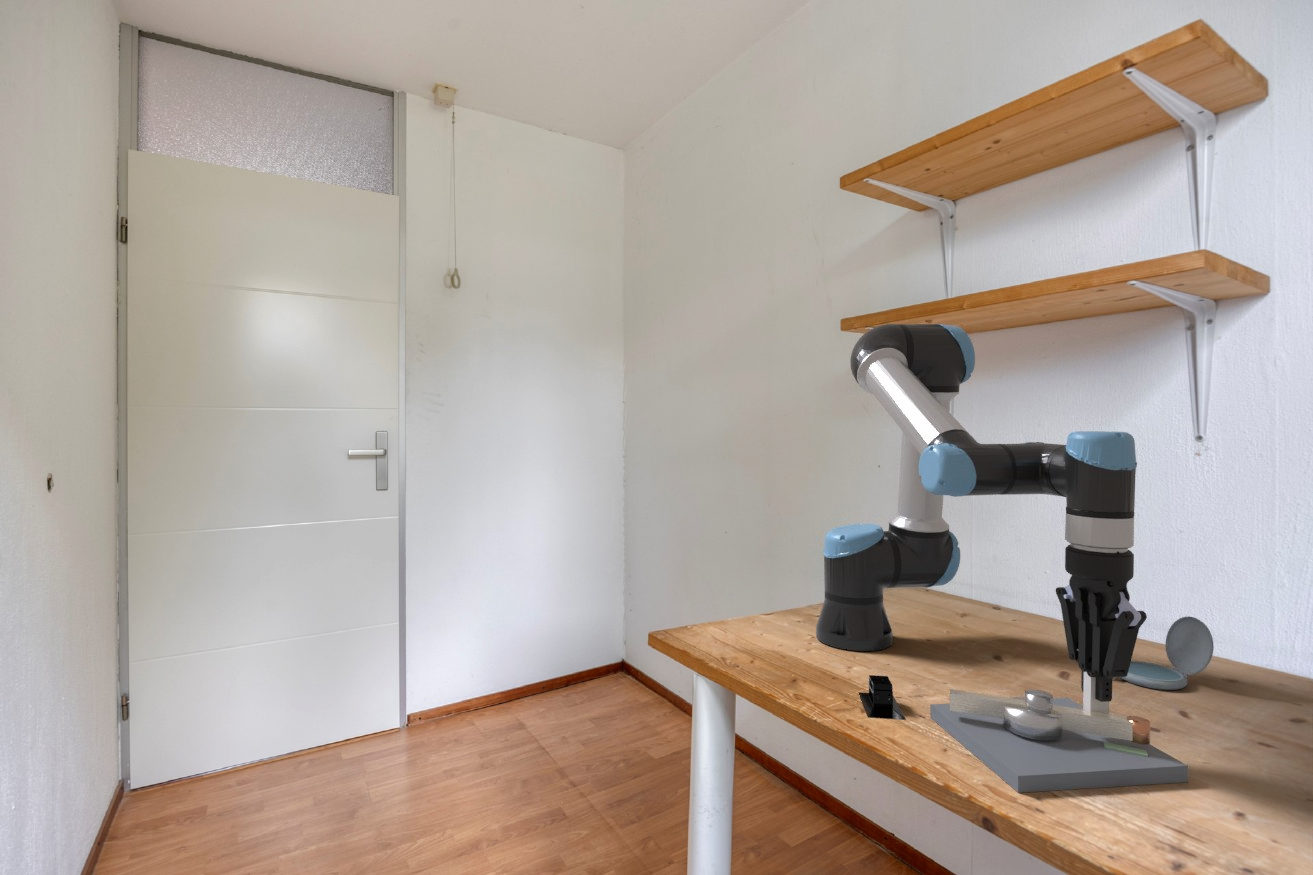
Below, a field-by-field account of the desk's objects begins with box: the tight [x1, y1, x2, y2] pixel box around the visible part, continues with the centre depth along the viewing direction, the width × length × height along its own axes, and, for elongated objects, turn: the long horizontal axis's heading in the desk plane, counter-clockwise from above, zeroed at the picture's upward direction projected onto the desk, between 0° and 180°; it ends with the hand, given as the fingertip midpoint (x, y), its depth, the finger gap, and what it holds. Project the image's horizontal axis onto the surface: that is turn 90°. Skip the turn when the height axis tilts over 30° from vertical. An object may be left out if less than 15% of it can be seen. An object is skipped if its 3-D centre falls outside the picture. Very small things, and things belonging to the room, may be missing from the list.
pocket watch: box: [1114, 616, 1215, 691], centre depth 109 cm, size 10×11×15 cm
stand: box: [929, 697, 1189, 794], centre depth 86 cm, size 20×22×2 cm
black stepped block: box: [857, 674, 907, 721], centre depth 100 cm, size 12×7×5 cm, turn 171°
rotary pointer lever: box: [949, 688, 1151, 745], centre depth 86 cm, size 7×23×5 cm, turn 64°
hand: (1095, 720), depth 85 cm, fingers closed
